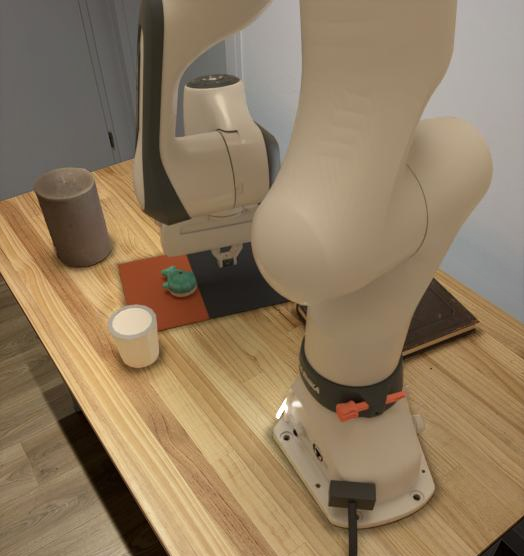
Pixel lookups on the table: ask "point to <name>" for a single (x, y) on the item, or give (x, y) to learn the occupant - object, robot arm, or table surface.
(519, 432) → the table surface
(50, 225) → the pillar candle
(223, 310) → the mat
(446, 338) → the hardcover book
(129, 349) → the jar candle
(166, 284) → the whale figurine
